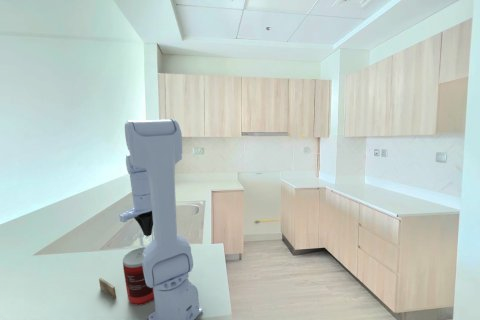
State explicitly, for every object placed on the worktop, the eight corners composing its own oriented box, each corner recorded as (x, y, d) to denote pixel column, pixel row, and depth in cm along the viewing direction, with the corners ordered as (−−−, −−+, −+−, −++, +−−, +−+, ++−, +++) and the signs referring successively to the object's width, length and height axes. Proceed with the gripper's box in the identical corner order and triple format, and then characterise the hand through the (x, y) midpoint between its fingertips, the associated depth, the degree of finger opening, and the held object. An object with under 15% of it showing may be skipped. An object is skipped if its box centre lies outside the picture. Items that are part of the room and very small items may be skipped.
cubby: (148, 275, 65) (147, 266, 65) (114, 298, 57) (112, 288, 56) (134, 268, 69) (133, 259, 68) (100, 288, 61) (98, 278, 60)
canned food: (150, 279, 63) (146, 243, 62) (165, 292, 58) (161, 253, 56) (122, 295, 58) (116, 256, 56) (136, 311, 53) (130, 269, 51)
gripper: (154, 185, 76) (158, 223, 78) (111, 198, 64) (117, 242, 66) (168, 187, 72) (172, 227, 74) (125, 202, 60) (131, 248, 62)
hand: (147, 234), depth 70 cm, fingers closed
